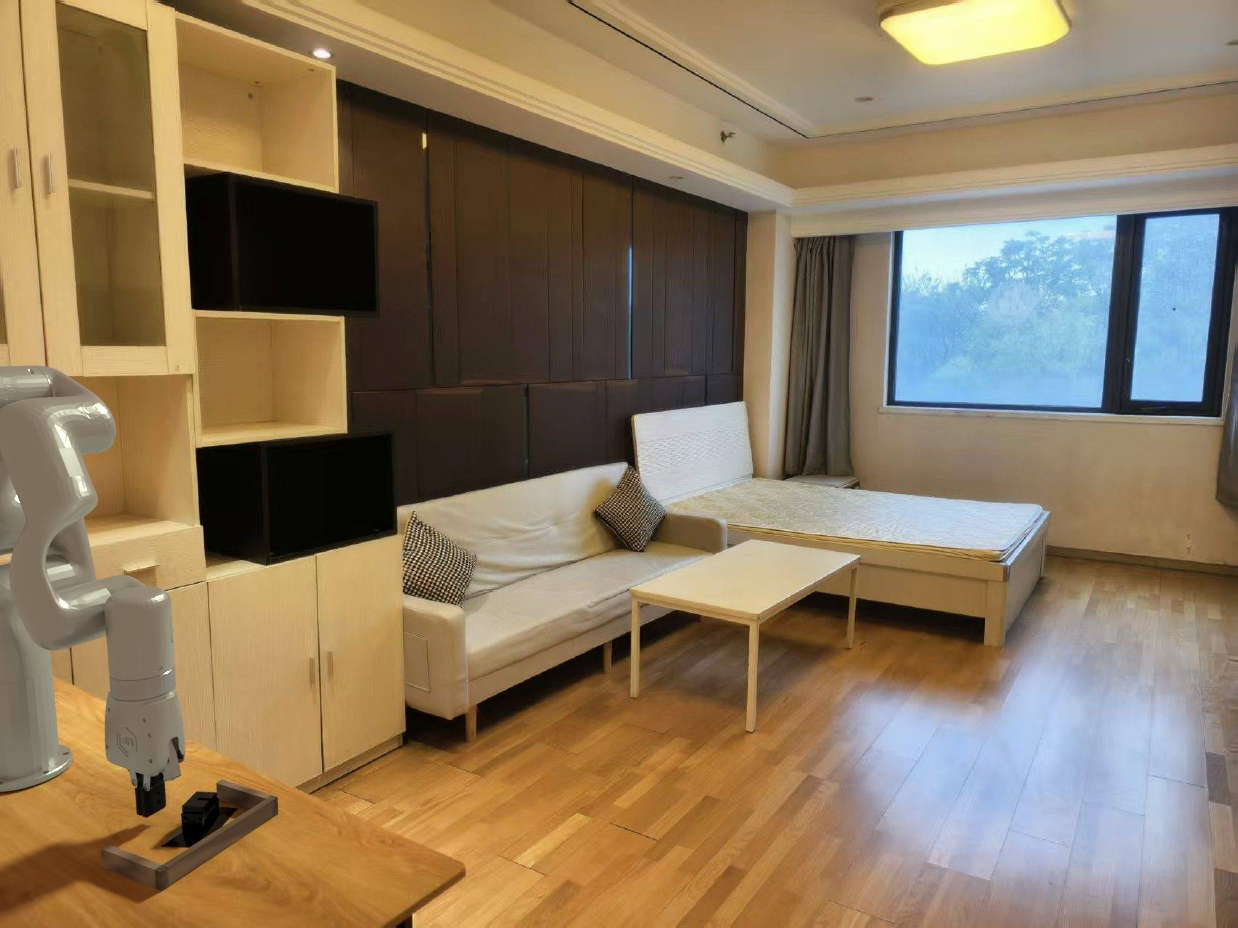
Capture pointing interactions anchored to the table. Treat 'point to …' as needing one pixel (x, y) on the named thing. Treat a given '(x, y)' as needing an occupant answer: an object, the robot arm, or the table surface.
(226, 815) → the build plate
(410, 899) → the table surface
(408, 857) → the table surface
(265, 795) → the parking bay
